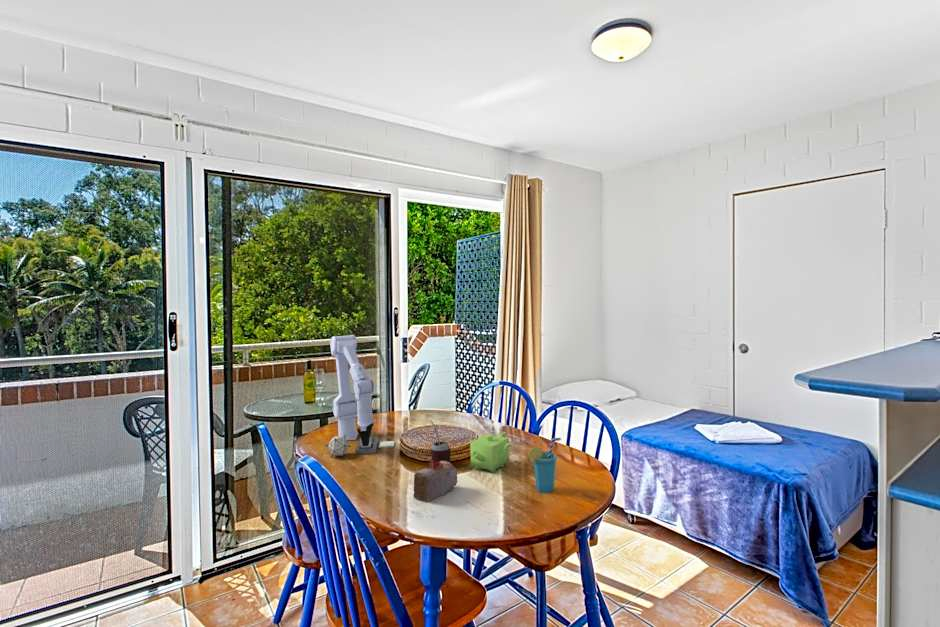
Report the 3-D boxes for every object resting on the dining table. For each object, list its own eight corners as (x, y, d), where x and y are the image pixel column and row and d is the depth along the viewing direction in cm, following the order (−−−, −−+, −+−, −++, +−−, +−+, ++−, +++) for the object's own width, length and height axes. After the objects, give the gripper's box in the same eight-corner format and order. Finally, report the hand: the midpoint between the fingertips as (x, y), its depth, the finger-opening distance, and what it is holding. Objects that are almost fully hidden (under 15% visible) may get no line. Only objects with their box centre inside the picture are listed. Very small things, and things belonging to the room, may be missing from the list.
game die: (339, 467, 187) (331, 452, 180) (325, 455, 191) (318, 440, 185) (357, 451, 192) (351, 435, 185) (344, 440, 196) (337, 424, 190)
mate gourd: (448, 470, 171) (446, 427, 170) (426, 469, 172) (424, 426, 171) (453, 462, 178) (451, 421, 177) (432, 461, 180) (430, 420, 179)
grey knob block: (362, 449, 196) (361, 432, 195) (372, 448, 196) (371, 432, 196) (360, 452, 192) (360, 435, 191) (371, 451, 192) (370, 435, 192)
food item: (440, 483, 160) (439, 453, 159) (459, 488, 155) (458, 457, 155) (411, 498, 149) (409, 466, 148) (431, 504, 144) (429, 471, 144)
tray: (379, 443, 203) (379, 441, 203) (394, 442, 203) (394, 440, 203) (378, 447, 197) (378, 446, 197) (393, 446, 197) (393, 445, 197)
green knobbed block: (505, 458, 181) (505, 427, 180) (517, 472, 167) (516, 439, 166) (465, 462, 178) (464, 431, 177) (473, 477, 164) (472, 444, 163)
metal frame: (360, 442, 204) (359, 438, 204) (378, 441, 205) (378, 437, 205) (355, 454, 189) (355, 450, 189) (375, 453, 190) (375, 449, 190)
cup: (551, 478, 160) (550, 433, 159) (571, 485, 154) (569, 438, 153) (522, 492, 151) (521, 443, 150) (542, 499, 145) (541, 449, 144)
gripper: (373, 414, 186) (374, 449, 187) (376, 404, 200) (378, 437, 201) (354, 415, 185) (356, 450, 186) (359, 405, 200) (360, 438, 201)
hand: (366, 443), depth 194 cm, fingers closed on grey knob block, 4 cm apart
